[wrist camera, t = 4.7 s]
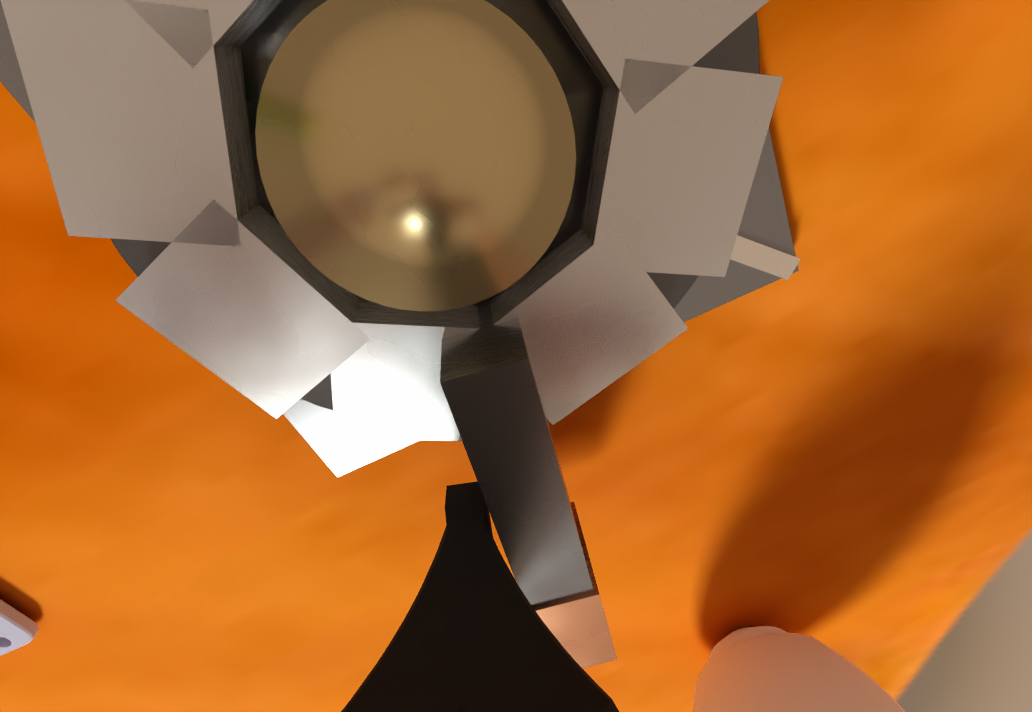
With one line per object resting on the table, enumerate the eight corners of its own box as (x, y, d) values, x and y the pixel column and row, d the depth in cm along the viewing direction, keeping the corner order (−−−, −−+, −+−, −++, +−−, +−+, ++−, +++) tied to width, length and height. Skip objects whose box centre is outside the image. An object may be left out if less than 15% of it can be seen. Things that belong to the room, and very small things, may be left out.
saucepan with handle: (548, 590, 17) (565, 688, 14) (-82, 103, 9) (-294, 120, 7) (919, 356, 14) (1027, 425, 11) (444, -614, 6) (438, -1078, 4)
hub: (342, 465, 17) (306, 595, 13) (-97, -62, 10) (-469, -144, 6) (788, 264, 15) (913, 339, 11) (617, -533, 8) (772, -1095, 4)
